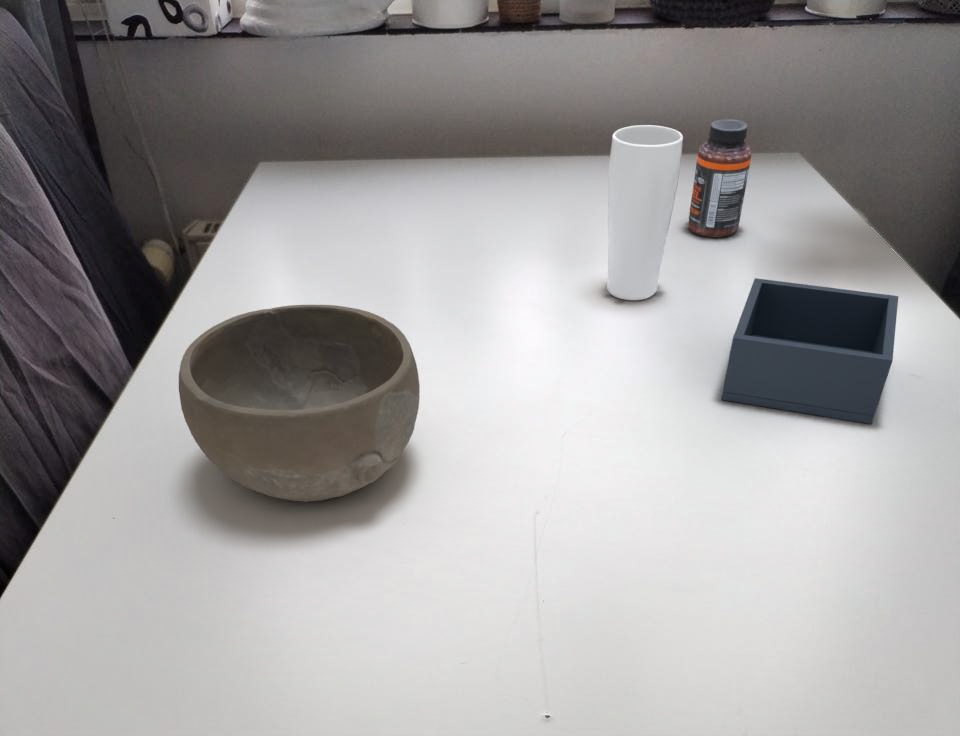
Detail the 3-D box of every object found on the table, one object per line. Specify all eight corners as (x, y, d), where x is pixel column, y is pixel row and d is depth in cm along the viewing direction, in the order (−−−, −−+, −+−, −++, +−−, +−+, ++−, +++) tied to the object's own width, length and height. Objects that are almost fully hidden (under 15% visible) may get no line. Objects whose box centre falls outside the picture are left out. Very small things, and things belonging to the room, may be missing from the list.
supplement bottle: (681, 221, 108) (695, 117, 100) (729, 219, 109) (746, 114, 101) (694, 240, 104) (710, 133, 96) (744, 237, 104) (764, 130, 96)
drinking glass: (646, 274, 97) (664, 121, 87) (675, 299, 93) (697, 141, 82) (589, 284, 96) (600, 129, 85) (615, 309, 91) (630, 149, 81)
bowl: (437, 517, 67) (429, 396, 60) (196, 545, 65) (159, 424, 58) (412, 401, 79) (403, 290, 72) (208, 422, 77) (178, 310, 70)
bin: (742, 337, 87) (754, 277, 82) (879, 356, 83) (898, 295, 79) (721, 400, 78) (732, 337, 74) (871, 424, 75) (892, 360, 71)
